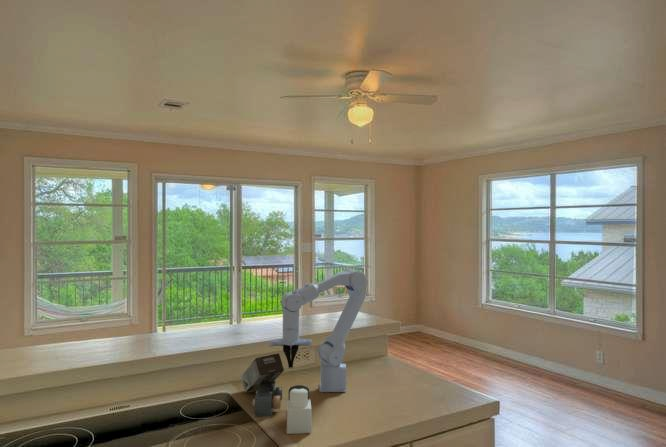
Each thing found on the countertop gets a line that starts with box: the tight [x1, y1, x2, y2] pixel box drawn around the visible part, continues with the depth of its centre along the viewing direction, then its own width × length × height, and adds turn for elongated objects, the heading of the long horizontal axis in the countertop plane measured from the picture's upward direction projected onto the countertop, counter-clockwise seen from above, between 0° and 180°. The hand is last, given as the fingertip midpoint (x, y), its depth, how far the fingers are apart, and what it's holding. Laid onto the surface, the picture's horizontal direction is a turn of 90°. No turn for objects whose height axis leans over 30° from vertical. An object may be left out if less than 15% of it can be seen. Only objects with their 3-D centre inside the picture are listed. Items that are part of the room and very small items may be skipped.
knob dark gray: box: [255, 386, 283, 401], centre depth 151 cm, size 9×4×4 cm, turn 92°
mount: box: [254, 380, 277, 418], centre depth 147 cm, size 5×14×6 cm, turn 2°
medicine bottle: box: [285, 384, 312, 435], centre depth 132 cm, size 7×7×12 cm
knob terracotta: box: [252, 396, 282, 410], centre depth 144 cm, size 9×4×4 cm, turn 92°
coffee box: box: [240, 353, 285, 394], centre depth 158 cm, size 9×6×16 cm
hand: (290, 366), depth 157 cm, fingers closed
